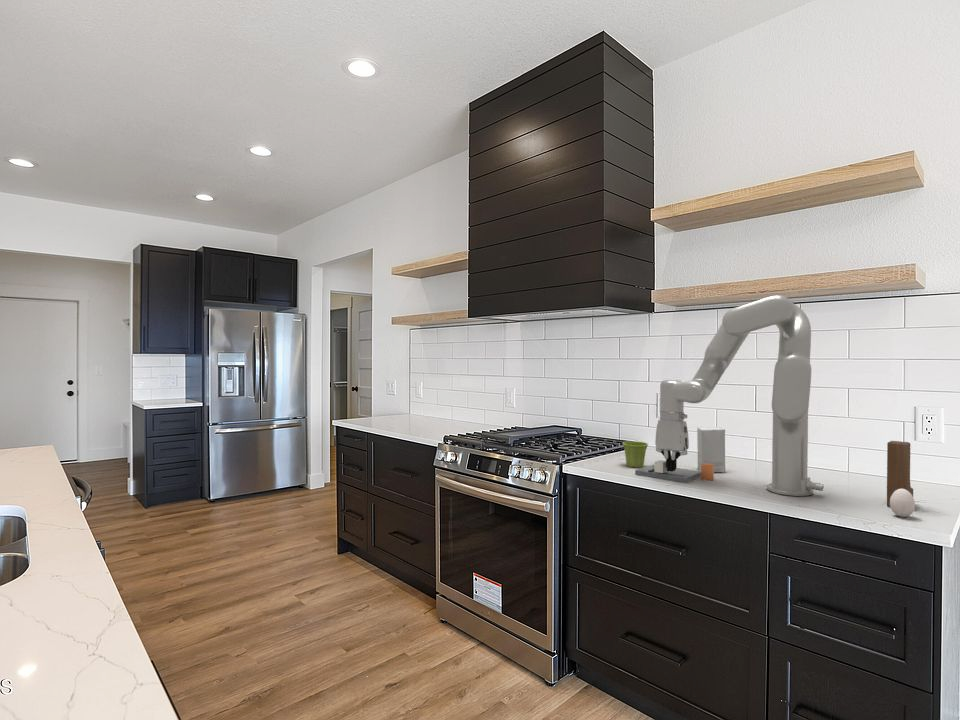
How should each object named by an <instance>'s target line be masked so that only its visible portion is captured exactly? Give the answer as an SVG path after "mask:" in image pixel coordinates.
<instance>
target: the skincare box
mask: <svg viewBox="0 0 960 720" xmlns="http://www.w3.org/2000/svg"><path fill="white" fill-rule="evenodd" d="M696 428H697V429H696V431H697V434H696V436H697V439H696V440H697V471H701V464H702V463H709V464H713V465H714V472H722V474H723V473H726V429H725V428H722V427H718V426H710V427H709V426H707V427H706V426H704V427H703V426H701V427H699V426H697V427H696Z"/></svg>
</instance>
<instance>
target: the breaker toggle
mask: <svg viewBox="0 0 960 720" xmlns="http://www.w3.org/2000/svg"><path fill="white" fill-rule="evenodd" d="M653 464H654V472H658V473H665V472H668V471H667V468H666V460H663V459H659V460H655V461H654V462H653Z"/></svg>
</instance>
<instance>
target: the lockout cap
mask: <svg viewBox="0 0 960 720" xmlns="http://www.w3.org/2000/svg"><path fill="white" fill-rule="evenodd" d="M700 479H701V480H702V481H709V480H711V481H714V480H715V473H714V465H713V464H709V463H702V464H701V477H700Z"/></svg>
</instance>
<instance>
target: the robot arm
mask: <svg viewBox="0 0 960 720" xmlns="http://www.w3.org/2000/svg"><path fill="white" fill-rule="evenodd" d="M721 320H722V321H721V325H720V326H719V328H718V330H717V331H716V333H715V334H714V336H713V338H712V339H711V341H710V342H709V344H707V345H708V346H707V347H706V349H705V352H704V356H703V357H704V358H703V360H702V362H701V364H700V366H699V368H698V370H697V371H696V373H695V375H694V377H693V378H692V379H691V380H687V381H682V380H678V379H664V380H661V382H660V390H659V392H660V393H659V397H660V398H659V401H660V402H659V410H660V411H659V419H658V420H657V424H656V431H655V451H656V452H658V453H660V454H662V456H663V457H664V459H665V461H666V468H667V471H670V472H672V471H675V470H676V468H678V467H677V460H678V459H679V457H681V456H687V455H688V450H689V446H690V444H689V443H690V440H689V430H688V424H687V421H686V420H685V419H688V414H686V413H685V412H684V409H685V407H684V404H685V403H688V404H699V403H702V402H704V401H705V400H707V399H708V398H709V397H710V396H711V394H712V392H713V390H714V389H715V387H716V386H717V384H718V382H720V379H721V378H722V376H723V374H724V373H725V371H726V370H727V369H728V368H729V366H730V364H731V362H732V361H733V360H734V359H735V358H734V357H735V356H736V354H737V353H738V351H739V350H740V348H741V347H742V345H743V343H744V342H745V340H746V339H747V337H748V335H749V334H750V333H751V332H755V331H758V330H762V329H763V328H767V327H771V326H776V327H777V329H778V330H779V340H778V353H777V361H776V362H775V365H774V370H773V383H772V395H771V396H772V398H771V410H772V446H771V448H772V450H771V453H772V454H771V457H772V458H771V459H772V461H771V483H768V484H766V490H767V491H769V492H772V493H774V494H779V495H783V496H794V497H806V496H811V495H814V490H815V491H821V492H823V491H824V484H823V483H820V482H813V481H812V480H811V477H809V476H808V465H809V464H808V463H809V462H808V459H809V458H808V457H809V456H808V455H809V454H808V453H809V452H808V450H809V449H808V448H809V447H808V446H809V445H808V444H809V443H808V442H809V406H810V394H811V385H812V384H811V382H812V364H811V350H812V348H811V347H812V346H811V345H812V327H811V322H810V320H809V318H808V316H807V314H806V313H805V312H804V310H803V309H802V308H801V307H799V306H798V305H797V304H795V303H793V302H792V301H791V300H790V299H789V298H788V297H786V296H784V295H781V294H780V295H777V294H776V295H771V296H767V297H764V298H761V299H758V300H755V301H753V302H749V303H747V304H743V305H739V306H736V307H733V308H730V309H729V310H727V311H726V312H725V313H724V314H723V317H722V319H721Z"/></svg>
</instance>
